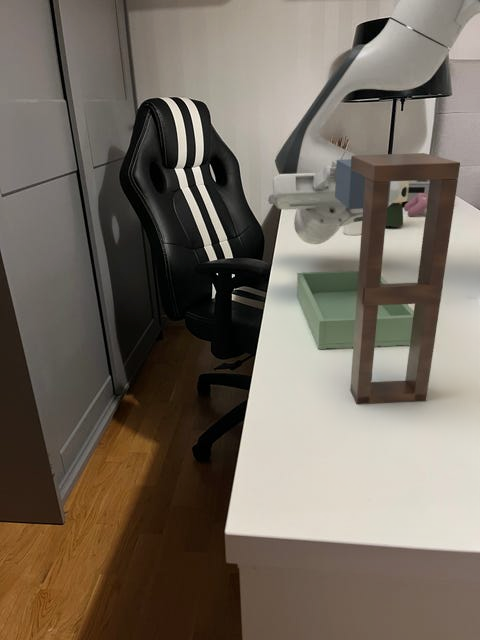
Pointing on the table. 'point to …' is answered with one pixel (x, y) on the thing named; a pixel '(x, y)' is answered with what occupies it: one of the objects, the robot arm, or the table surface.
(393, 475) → the table surface
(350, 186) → the slate grey square prism
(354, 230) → the eye dropper bottle
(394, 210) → the character mug
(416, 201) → the video game controller
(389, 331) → the tray
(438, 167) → the shelf stand
